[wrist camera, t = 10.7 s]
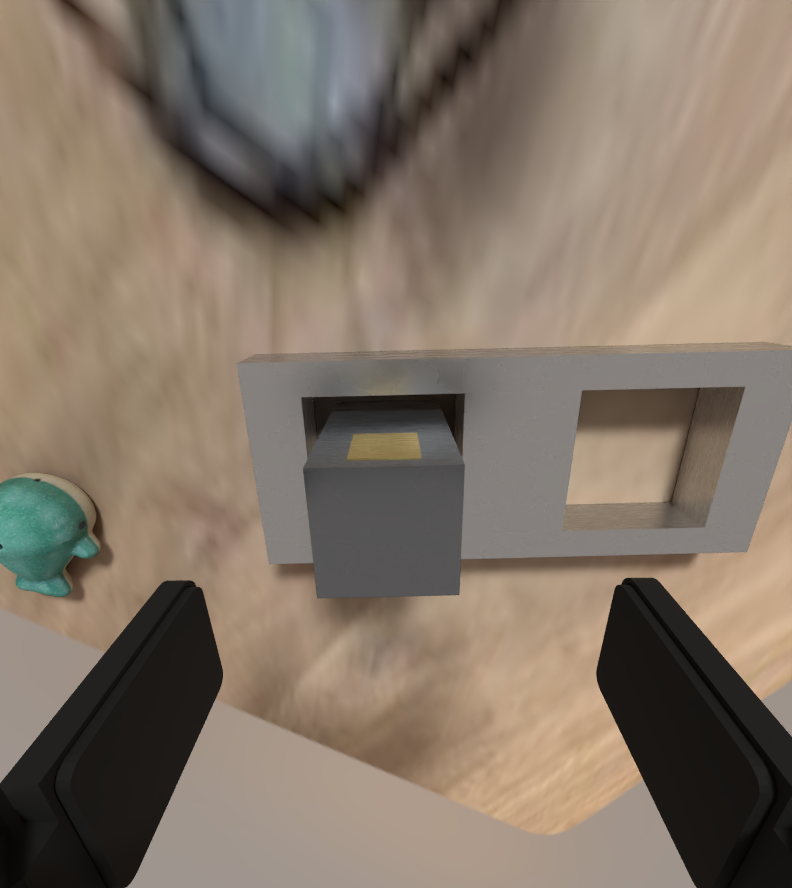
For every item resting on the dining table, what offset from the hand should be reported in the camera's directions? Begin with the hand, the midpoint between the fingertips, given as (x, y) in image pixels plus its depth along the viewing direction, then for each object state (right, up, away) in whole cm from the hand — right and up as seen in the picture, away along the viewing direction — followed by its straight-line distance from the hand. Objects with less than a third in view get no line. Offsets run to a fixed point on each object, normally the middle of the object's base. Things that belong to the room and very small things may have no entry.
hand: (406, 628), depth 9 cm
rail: (+5, +4, +12) cm, 13 cm away
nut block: (-1, +4, +12) cm, 12 cm away
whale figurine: (-19, 0, +13) cm, 23 cm away
